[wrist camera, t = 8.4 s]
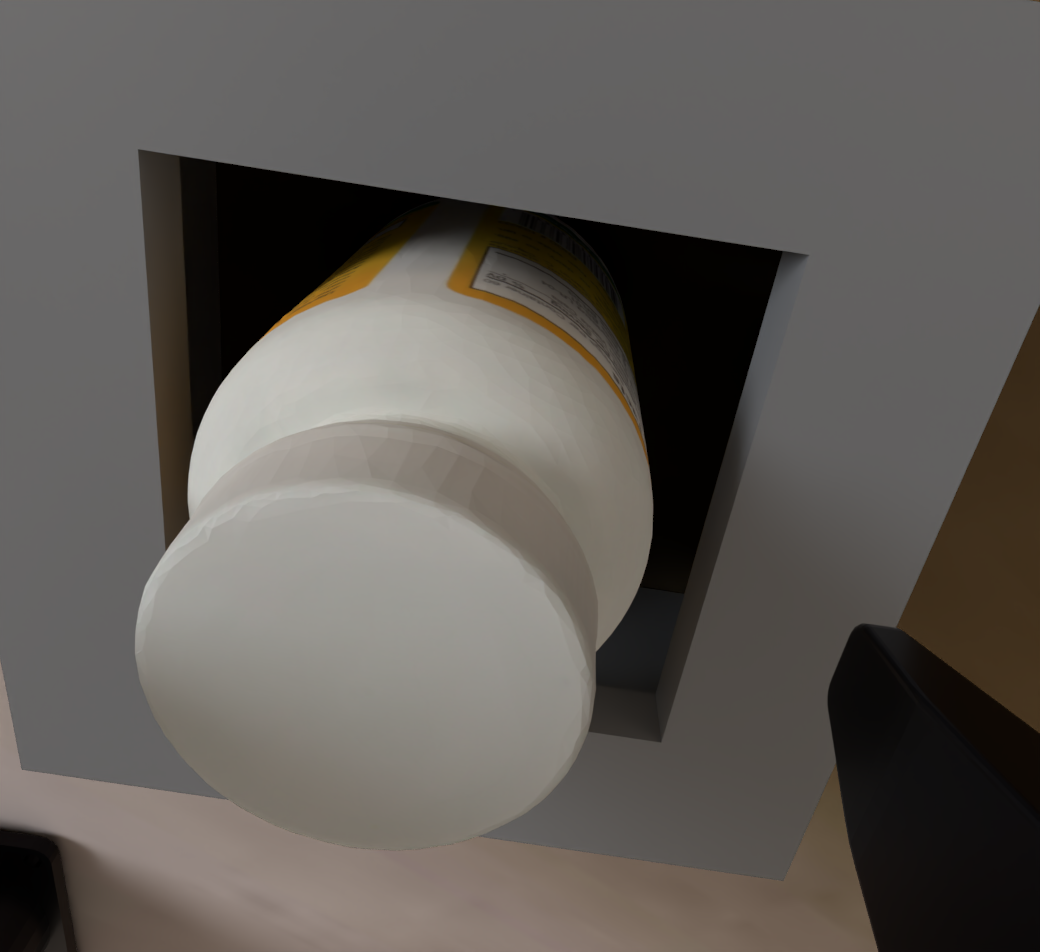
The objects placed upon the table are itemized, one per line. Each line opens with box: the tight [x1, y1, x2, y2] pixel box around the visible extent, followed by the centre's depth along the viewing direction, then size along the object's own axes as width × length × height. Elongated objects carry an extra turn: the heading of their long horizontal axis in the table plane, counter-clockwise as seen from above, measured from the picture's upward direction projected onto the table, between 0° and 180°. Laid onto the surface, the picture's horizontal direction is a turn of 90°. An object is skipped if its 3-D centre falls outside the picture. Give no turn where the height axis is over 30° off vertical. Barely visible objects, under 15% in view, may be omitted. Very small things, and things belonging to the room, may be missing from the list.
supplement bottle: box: [135, 198, 653, 850], centre depth 11 cm, size 5×5×10 cm
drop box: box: [0, 0, 1040, 881], centre depth 13 cm, size 12×12×6 cm
